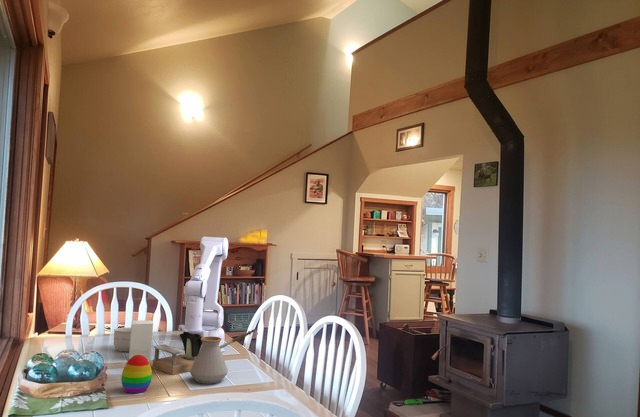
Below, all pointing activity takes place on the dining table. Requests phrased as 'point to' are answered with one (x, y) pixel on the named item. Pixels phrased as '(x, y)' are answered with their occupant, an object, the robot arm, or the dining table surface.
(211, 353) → the coffee pot
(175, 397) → the dining table surface
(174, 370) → the socket board
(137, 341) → the supplement box
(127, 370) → the decorative egg
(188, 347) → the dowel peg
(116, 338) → the teacup
